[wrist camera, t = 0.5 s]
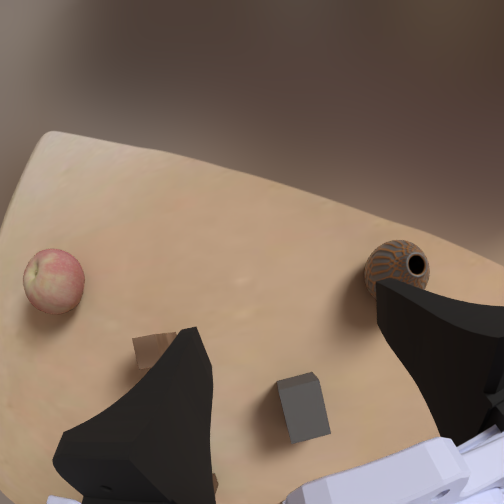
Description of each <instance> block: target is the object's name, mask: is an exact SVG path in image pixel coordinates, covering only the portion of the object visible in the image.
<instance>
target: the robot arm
mask: <svg viewBox="0 0 504 504" xmlns="http://www.w3.org/2000/svg"><path fill="white" fill-rule="evenodd" d="M376 302H377V324H378V326H379V328H380V330H381V332H382V334H383V336H384V338H385V339H386V341H387V343H388V344H389V346H390V347H391V349H392V350H393V351H394V353H395V354H396V356H397V357H398V358H399V360H400V361H401V362H402V364H403V365H404V367H405V368H406V369H407V371H408V372H409V374H410V375H411V376H412V378H413V379H414V381H415V383H416V384H417V386H418V388H419V390H420V392H421V394H422V395H423V397H424V399H425V401H426V403H427V406H428V408H429V410H430V412H431V414H432V416H433V419H434V421H435V423H436V426H437V428H438V431H439V433H440V436H441V437H435V438H432V439H429V440H426V441H423V442H420V443H418V444H416V445H413V446H411V447H409V448H406V449H404V450H401V451H399V452H396V453H394V454H391V455H389V456H386V457H383V458H381V459H378V460H375V461H372V462H369V463H367V464H364V465H361V466H357V467H354V468H351V469H348V470H345V471H341V472H338V473H334V474H331V475H327V476H324V477H321V478H318V479H316V480H313V481H310V482H307V483H304V484H303V485H301V486H300V487H298V488H297V489H295V490H294V491H292V492H291V493H290V494H289V495H288V496H287V498H286V500H284V501H283V502H282V504H504V306H490V305H481V304H474V303H468V302H464V301H459V300H455V299H451V298H447V297H444V296H441V295H437V294H434V293H431V292H429V291H426V290H423V289H420V288H418V287H415V286H412V285H410V284H407V283H404V282H401V281H399V280H396V279H392V278H386V279H383V280H379V281H376ZM212 398H213V375H212V365H211V363H210V360H209V358H208V355H207V353H206V350H205V348H204V345H203V343H202V340H201V337H200V335H199V332H198V330H197V327H192V328H187V329H182V330H181V331H180V332H179V333H178V335H177V336H176V337H175V339H174V340H173V341H172V343H171V344H170V345H169V347H168V348H167V349H166V351H165V352H164V353H163V355H162V356H161V357H160V358H159V360H158V361H157V362H156V363H155V364H154V366H153V367H152V368H151V369H150V370H149V371H148V373H147V374H146V375H145V376H144V377H143V378H142V379H141V380H140V381H139V382H138V383H137V384H136V385H135V386H134V387H133V388H132V389H131V390H130V391H129V392H128V393H126V394H125V395H124V396H123V397H121V398H120V399H119V400H118V401H116V402H115V403H114V404H112V405H111V406H110V407H108V408H107V409H106V410H104V411H103V412H101V413H100V414H98V415H96V416H95V417H93V418H91V419H90V420H88V421H86V422H84V423H82V424H80V425H78V426H76V427H74V428H72V429H70V430H68V431H65V432H63V435H62V437H61V440H60V442H59V444H58V447H57V449H56V452H55V454H54V457H53V465H54V467H55V469H56V471H57V472H58V473H59V474H60V476H61V477H62V478H63V479H65V480H66V481H67V482H68V483H69V484H70V485H71V486H72V487H74V488H75V489H76V490H77V491H78V492H80V493H81V494H82V495H83V496H84V497H83V501H82V503H80V502H78V501H76V500H73V499H68V498H63V497H58V496H53V495H49V497H48V500H47V503H46V504H216V501H215V493H214V485H213V476H212V466H211V452H210V425H211V411H212Z"/></svg>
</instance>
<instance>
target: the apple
mask: <svg viewBox="0 0 504 504" xmlns="http://www.w3.org/2000/svg"><path fill="white" fill-rule="evenodd" d="M84 283H85V276H84V273H83V270H82V267H81V265H80V263H79V262H78V260H77V259H76V258H75V257H74V256H72V255H71V254H69V253H67V252H65V251H62V250H59V249H46V250H42V251H40V252H38V253H37V254H36V255H34V256H33V257H32V259H31V260H30V261H29V263H28V265H27V267H26V269H25V272H24V276H23V286H24V290H25V293H26V295H27V297H28V299H29V301H30V302H31V304H32V305H33V306H34V307H36V308H37V309H39V310H40V311H43V312H45V313H49V314H62V313H65V312H68V311H70V310H71V309H73V308H74V307H75V306H77V305H78V303H79V302H80V300H81V297H82V294H83V290H84Z"/></svg>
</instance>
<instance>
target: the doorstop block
mask: <svg viewBox="0 0 504 504" xmlns="http://www.w3.org/2000/svg"><path fill="white" fill-rule="evenodd" d="M277 385H278V391H279V395H280V399H281V403H282V407H283V411H284V416H285V420H286V424H287V428H288V432H289V436H290V440H291V444H293V443H298V442H302V441H306V440H309V439H313V438H317V437H321V436H324V435H328V434H331V431H330V427H329V422H328V418H327V413H326V408H325V404H324V399H323V395H322V391H321V386H320V382H319V379H318V378H317V377H316V376H315V375H314V374H313V372H310V373H306V374H303V375H299V376H295V377H291V378H287V379H283V380H279V381H277Z"/></svg>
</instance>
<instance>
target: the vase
mask: <svg viewBox="0 0 504 504" xmlns="http://www.w3.org/2000/svg"><path fill="white" fill-rule="evenodd" d="M429 273H430V270H429V263H428V260H427V258H426V256H425V254H424V253H423V251H422V250H421V249H420V248H419V247H418V246H416V245H415V244H413V243H411V242H408V241H404V240H393V241H389V242H386V243H384V244H382V245H380V246H379V247H378V248H377V249H375V250H374V251H373V253H372V254H371V255H370V257H369V258H368V260H367V263H366V266H365V271H364V278H365V283H366V286H367V289H368V291H369V292H370V294H371V295H372V296H373V297H374V298H375V299H376V281H379V280H383V279H386V278H392V279H396V280H399V281H401V282H404V283H407V284H410V285H412V286H415V287H418V288H420V289H423V290H424V289H425V288H426V286H427V283H428V280H429Z"/></svg>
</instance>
